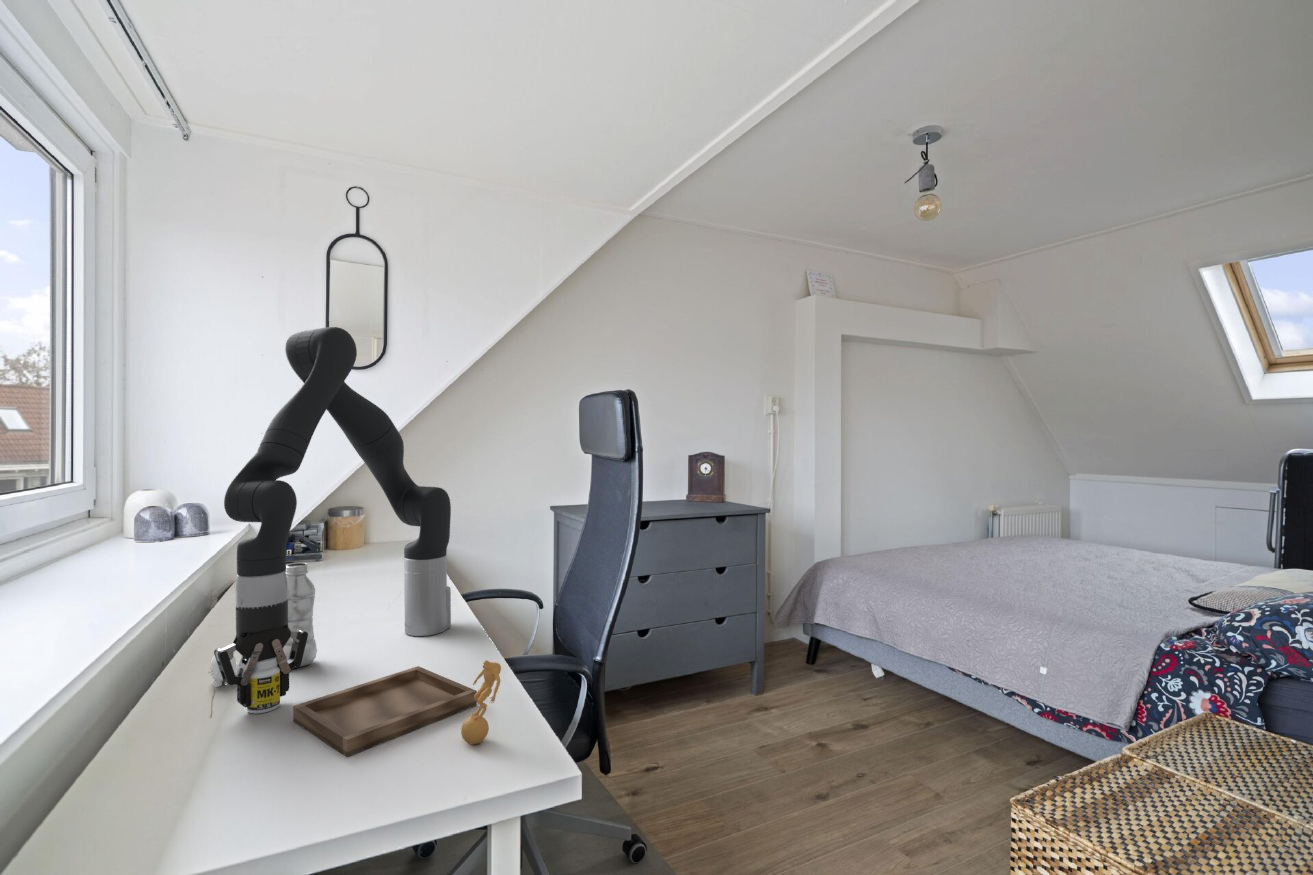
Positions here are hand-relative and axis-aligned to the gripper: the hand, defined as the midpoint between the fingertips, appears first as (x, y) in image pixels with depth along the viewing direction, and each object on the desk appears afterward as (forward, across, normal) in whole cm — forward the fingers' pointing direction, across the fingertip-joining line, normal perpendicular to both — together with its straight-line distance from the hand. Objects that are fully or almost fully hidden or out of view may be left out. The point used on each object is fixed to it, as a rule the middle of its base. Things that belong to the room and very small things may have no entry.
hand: (263, 699), depth 109 cm
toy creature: (+2, 0, -18) cm, 18 cm away
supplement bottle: (+2, 0, 0) cm, 2 cm away
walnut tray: (+1, -12, +18) cm, 22 cm away
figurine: (+2, -16, +38) cm, 41 cm away
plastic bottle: (+2, -12, -16) cm, 20 cm away
